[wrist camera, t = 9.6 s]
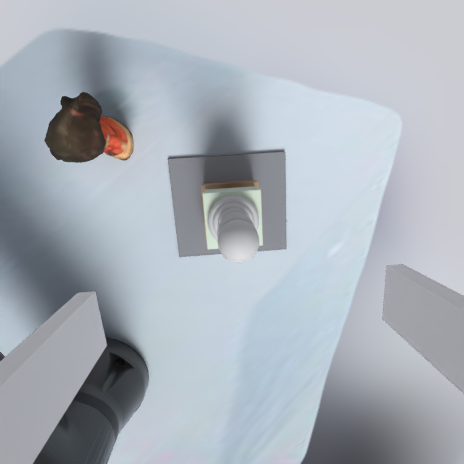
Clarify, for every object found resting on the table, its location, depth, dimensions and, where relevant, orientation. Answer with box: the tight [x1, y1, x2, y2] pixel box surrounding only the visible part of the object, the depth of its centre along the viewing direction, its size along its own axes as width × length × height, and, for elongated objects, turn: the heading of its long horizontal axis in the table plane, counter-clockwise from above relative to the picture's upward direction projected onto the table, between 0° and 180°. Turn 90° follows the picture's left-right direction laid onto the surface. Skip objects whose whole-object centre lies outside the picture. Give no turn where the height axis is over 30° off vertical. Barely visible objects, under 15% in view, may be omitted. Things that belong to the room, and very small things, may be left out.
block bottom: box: [201, 180, 259, 241], centre depth 35 cm, size 7×7×5 cm
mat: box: [168, 152, 286, 257], centre depth 37 cm, size 16×14×1 cm
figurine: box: [45, 92, 133, 163], centre depth 29 cm, size 6×6×12 cm
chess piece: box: [208, 196, 259, 262], centre depth 23 cm, size 5×5×9 cm
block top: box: [203, 186, 263, 249], centre depth 30 cm, size 6×6×5 cm
